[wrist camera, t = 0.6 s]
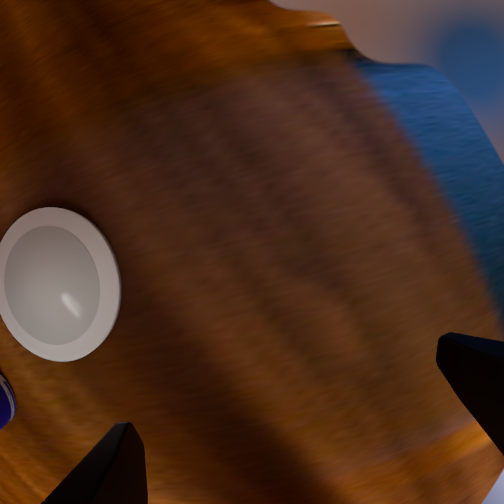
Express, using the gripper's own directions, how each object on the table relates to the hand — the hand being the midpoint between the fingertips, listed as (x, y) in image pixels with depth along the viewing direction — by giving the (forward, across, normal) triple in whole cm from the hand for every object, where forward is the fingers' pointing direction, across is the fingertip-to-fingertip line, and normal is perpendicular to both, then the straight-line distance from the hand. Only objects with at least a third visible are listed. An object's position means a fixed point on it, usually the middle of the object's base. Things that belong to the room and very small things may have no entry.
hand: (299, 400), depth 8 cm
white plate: (+15, +13, -1) cm, 20 cm away
